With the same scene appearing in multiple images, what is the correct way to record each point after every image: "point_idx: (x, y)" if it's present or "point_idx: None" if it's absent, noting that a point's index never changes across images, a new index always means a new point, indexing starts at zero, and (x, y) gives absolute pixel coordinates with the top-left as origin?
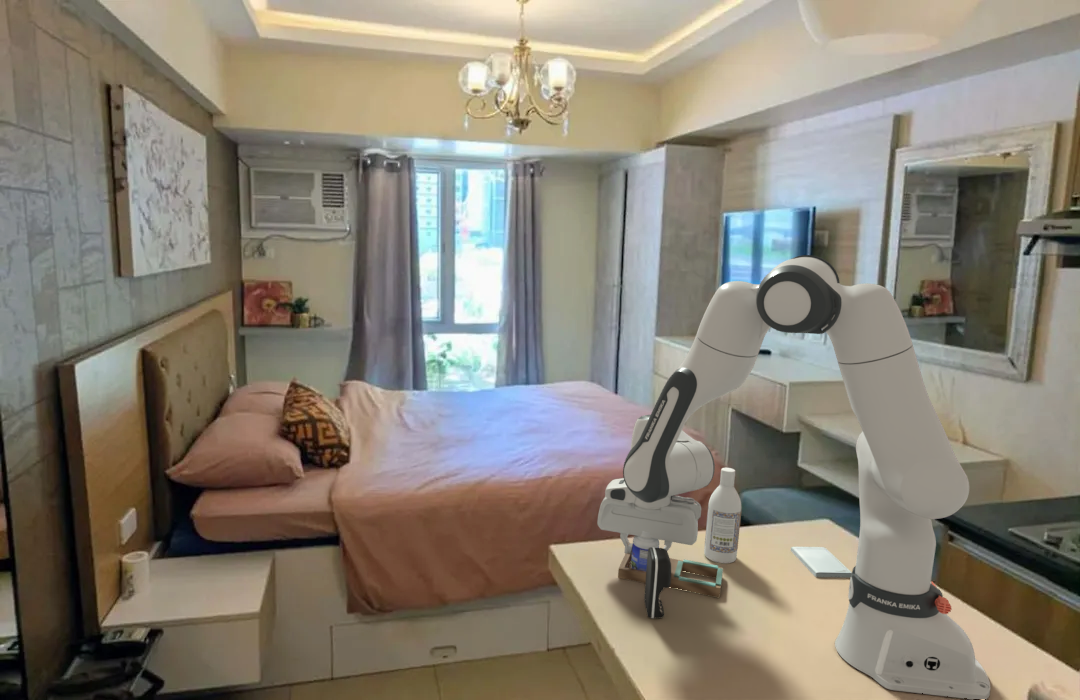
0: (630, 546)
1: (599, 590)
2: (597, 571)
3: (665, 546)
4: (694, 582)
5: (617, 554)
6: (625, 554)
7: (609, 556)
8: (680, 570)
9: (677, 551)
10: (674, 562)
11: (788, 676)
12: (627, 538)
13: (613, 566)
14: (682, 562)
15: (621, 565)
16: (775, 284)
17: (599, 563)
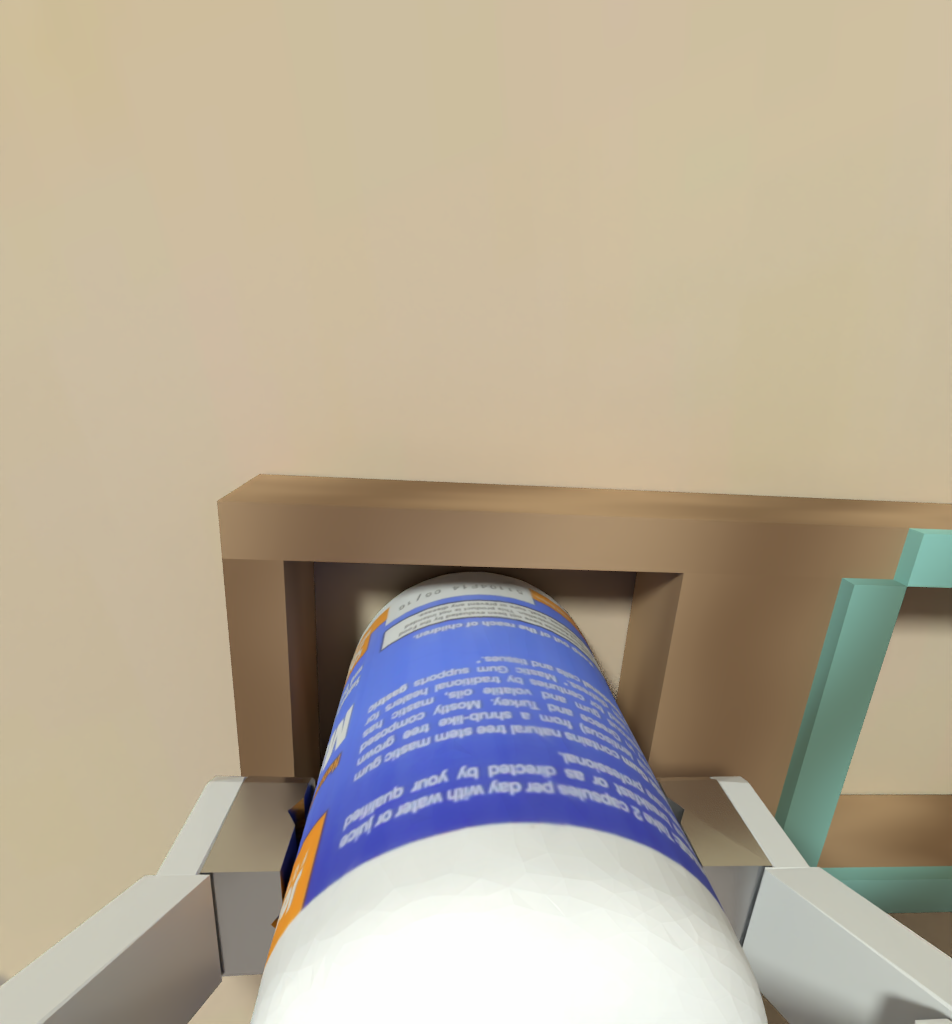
0: (260, 965)
1: (209, 1005)
2: (86, 791)
3: (838, 988)
4: (923, 906)
5: (133, 390)
6: (232, 619)
7: (68, 473)
8: (840, 781)
9: (835, 5)
10: (797, 608)
11: None
12: (123, 963)
13: (185, 664)
14: (893, 617)
15: None
16: None
17: (38, 656)
